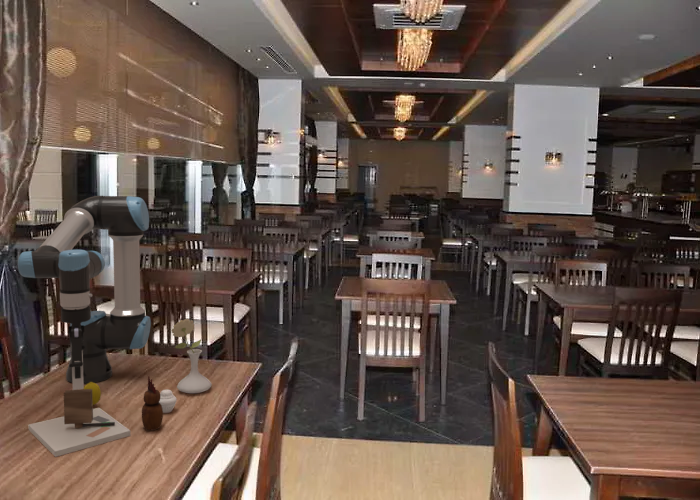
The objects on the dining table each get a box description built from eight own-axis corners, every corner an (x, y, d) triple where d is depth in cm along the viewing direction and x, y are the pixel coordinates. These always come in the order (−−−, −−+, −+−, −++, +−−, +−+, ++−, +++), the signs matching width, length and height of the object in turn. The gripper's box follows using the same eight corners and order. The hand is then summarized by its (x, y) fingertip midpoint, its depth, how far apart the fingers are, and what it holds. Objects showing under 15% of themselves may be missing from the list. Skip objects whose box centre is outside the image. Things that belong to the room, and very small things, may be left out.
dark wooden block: (66, 425, 173) (65, 390, 172) (115, 422, 176) (114, 388, 174) (64, 429, 170) (63, 393, 169) (114, 426, 173) (113, 390, 172)
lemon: (94, 410, 188) (93, 385, 187) (78, 408, 190) (77, 384, 189) (104, 404, 194) (104, 379, 193) (89, 402, 195) (88, 378, 194)
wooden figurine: (140, 424, 179) (140, 375, 177) (161, 422, 181) (160, 373, 180) (142, 434, 173) (142, 382, 171) (164, 431, 175) (163, 380, 173)
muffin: (175, 414, 187) (175, 392, 186) (154, 415, 186) (154, 393, 185) (177, 407, 193) (177, 385, 192) (157, 407, 192) (157, 386, 191)
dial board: (99, 412, 187) (99, 407, 187) (130, 435, 172) (130, 430, 171) (28, 429, 174) (28, 424, 173) (55, 456, 158) (55, 451, 158)
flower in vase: (209, 383, 215) (209, 314, 212) (213, 394, 205) (213, 321, 202) (171, 386, 211) (170, 315, 208) (172, 398, 201) (172, 323, 197)
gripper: (91, 316, 158) (93, 394, 161) (89, 296, 181) (91, 365, 184) (59, 318, 155) (62, 398, 158) (61, 297, 178) (64, 367, 181)
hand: (78, 380), depth 171 cm, fingers open, 13 cm apart
